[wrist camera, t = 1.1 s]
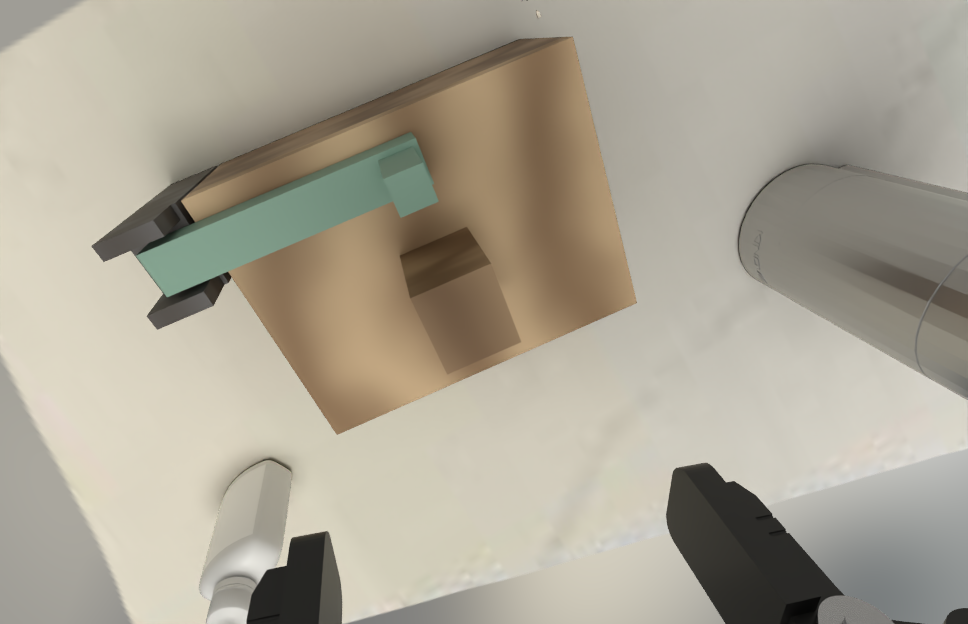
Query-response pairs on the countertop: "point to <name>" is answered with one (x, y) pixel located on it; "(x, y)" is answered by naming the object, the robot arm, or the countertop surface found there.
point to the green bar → (292, 214)
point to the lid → (444, 242)
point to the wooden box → (171, 213)
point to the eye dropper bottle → (245, 540)
